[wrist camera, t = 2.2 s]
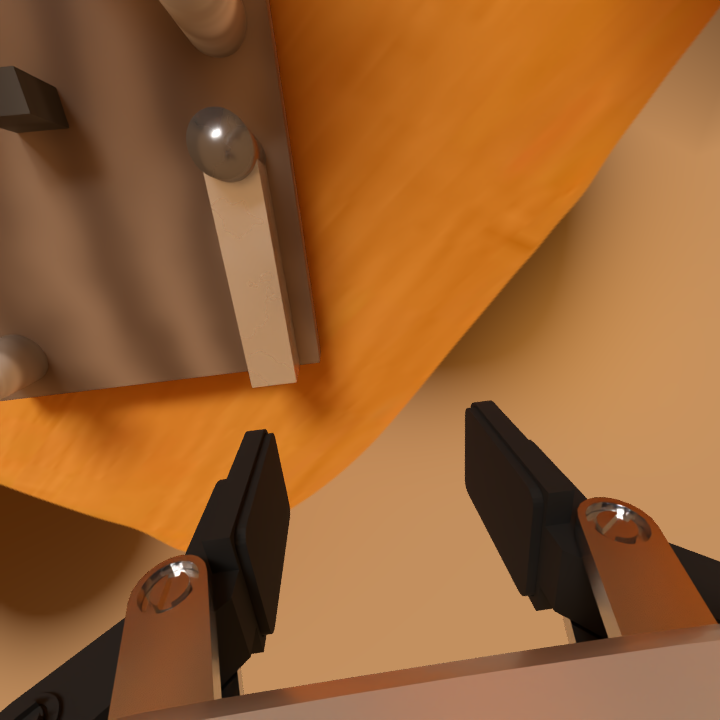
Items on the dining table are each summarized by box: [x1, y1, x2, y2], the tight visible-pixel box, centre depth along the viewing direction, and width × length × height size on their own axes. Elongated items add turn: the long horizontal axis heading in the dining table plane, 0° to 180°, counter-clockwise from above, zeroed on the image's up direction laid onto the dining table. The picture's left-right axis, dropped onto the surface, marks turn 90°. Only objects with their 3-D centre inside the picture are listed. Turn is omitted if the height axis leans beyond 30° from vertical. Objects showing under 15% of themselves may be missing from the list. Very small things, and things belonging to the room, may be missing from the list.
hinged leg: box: [186, 107, 300, 388], centre depth 22 cm, size 16×3×4 cm, turn 6°
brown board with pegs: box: [0, 0, 321, 401], centre depth 22 cm, size 24×24×8 cm
